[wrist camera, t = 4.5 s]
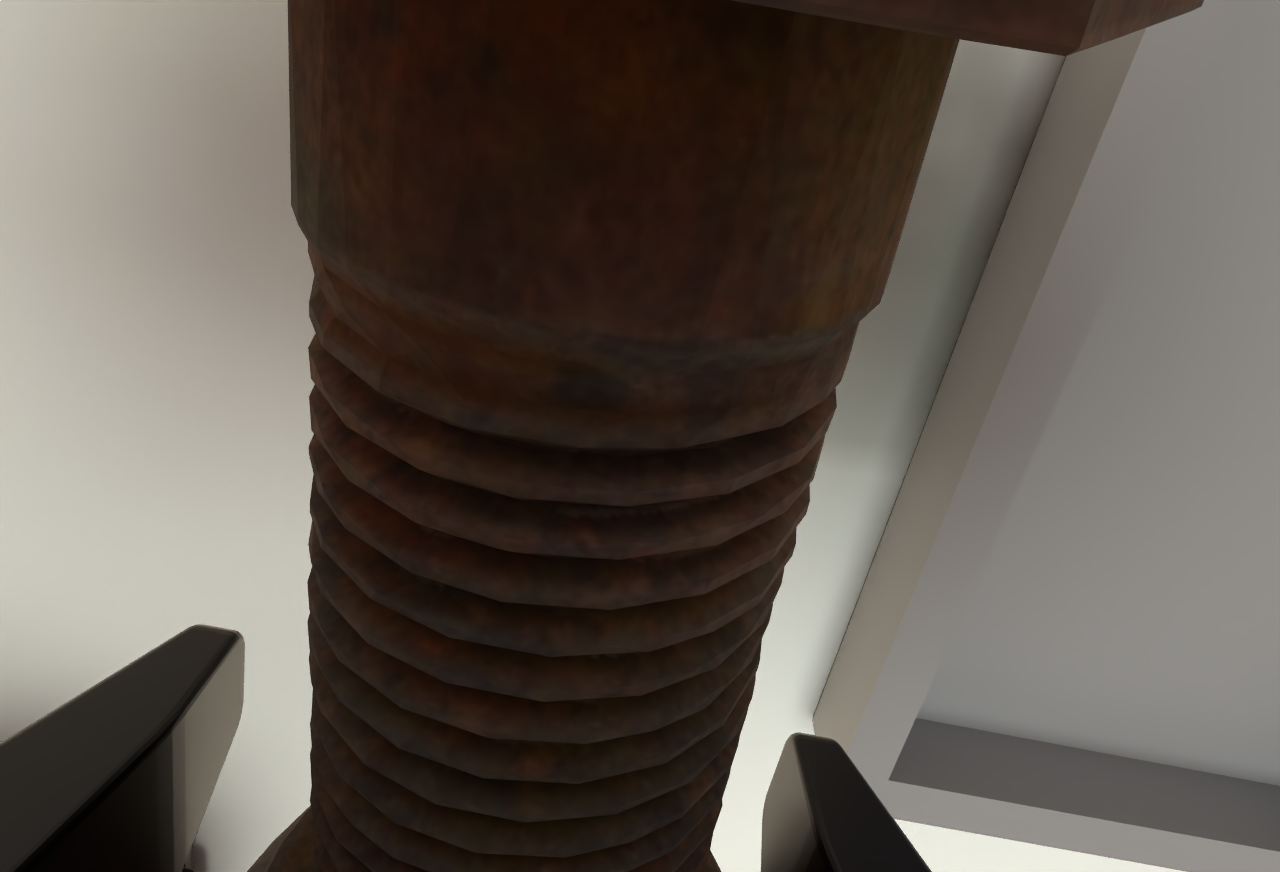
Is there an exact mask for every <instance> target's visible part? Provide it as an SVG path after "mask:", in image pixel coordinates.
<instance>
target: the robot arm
mask: <svg viewBox="0 0 1280 872" xmlns="http://www.w3.org/2000/svg"><path fill="white" fill-rule="evenodd" d="M244 662H245V643H244V639H243V636H242V635H241V634H240V633H239V632H238V631H235V630H230V629H224V628H219V627H213V626H207V625H195V626H191V627H189V628H187V629H186V630H184V631H182V632H181V633H179V634H177V635H176V636H174V637H173V638H171V639H169V640H168V641H166V642H164V643H163V644H161V645H160V646H158V647H156V648H155V649H153V650H151V651H150V652H148V653H147V654H145V655H143V656H142V657H140V658H138V659H137V660H135V661H134V662H132V663H130V664H129V665H127V666H125V667H124V668H122V669H121V670H119V671H117V672H116V673H114V674H112V675H111V676H109V677H107V678H106V679H104V680H103V681H101V682H99V683H98V684H96V685H94V686H93V687H91V688H90V689H88V690H86V691H85V692H83V693H81V694H80V695H78V696H77V697H75V698H73V699H72V700H70V701H68V702H67V703H65V704H64V705H62V706H60V707H59V708H57V709H55V710H54V711H52V712H51V713H49V714H47V715H46V716H44V717H42V718H41V719H39V720H38V721H36V722H34V723H33V724H31V725H29V726H28V727H26V728H25V729H23V730H21V731H20V732H18V733H16V734H15V735H13V736H12V737H10V738H8V739H7V740H5V741H3V742H2V743H0V872H197V871H196V869H192V844H193V841H194V839H195V836H196V834H197V831H198V828H199V826H200V823H201V821H202V818H203V815H204V813H205V810H206V808H207V805H208V803H209V800H210V797H211V795H212V792H213V790H214V787H215V785H216V782H217V779H218V777H219V774H220V772H221V769H222V767H223V764H224V761H225V759H226V756H227V754H228V751H229V749H230V746H231V743H232V741H233V738H234V736H235V733H236V730H237V728H238V724H239V721H240V717H241V713H242V707H243V696H244ZM761 872H931V870H930V869H929V867H928V866H927V865H926V863H925V862H924V860H923V859H922V858H921V856H920V855H919V853H918V852H917V851H916V849H915V848H914V847H913V845H912V844H911V842H910V841H909V840H908V838H907V837H906V835H905V834H904V833H903V831H902V830H901V828H900V827H899V826H898V824H897V823H896V822H895V820H894V819H893V817H892V816H891V815H890V813H889V812H888V810H887V809H886V808H885V806H884V805H883V803H882V802H881V801H880V799H879V798H878V797H877V795H876V794H875V792H874V791H873V790H872V788H871V787H870V785H869V784H868V783H867V781H866V780H865V778H864V777H863V776H862V774H861V773H860V772H859V770H858V769H857V767H856V766H855V765H854V763H853V762H852V760H851V759H850V758H849V756H848V755H847V754H846V752H845V751H844V749H843V748H842V747H841V745H840V744H839V743H838V742H836V741H835V740H833V739H831V738H827V737H821V736H816V735H810V734H805V733H794V734H792V735H790V737H789V738H788V740H787V741H786V743H785V745H784V748H783V751H782V754H781V756H780V759H779V762H778V765H777V767H776V770H775V773H774V776H773V778H772V781H771V784H770V787H769V789H768V792H767V795H766V799H765V803H764V809H763V818H762V850H761Z"/></svg>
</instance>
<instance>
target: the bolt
mask: <svg viewBox="0 0 1280 872" xmlns="http://www.w3.org/2000/svg"><path fill="white" fill-rule="evenodd" d="M1203 1H1204V0H288V42H289V97H290V153H291V205H292V208H293V211H294V214H295V217H296V219H297V222H298V225H299V227H300V228H301V230H302V232H303V233H304V235H305V237H306V238H307V240H308V253H309V256H310V260H311V263H312V267H313V270H314V274H315V275H314V280H313V285H312V291H311V296H310V301H309V317H310V319H311V322H312V324H313V326H314V329H315V331H316V334H315V336H314V338H313V340H312V342H311V344H310V345H309V347H308V349H309V361H310V372H311V379H312V380H313V382H314V383H315V385H314V387H313V389H312V392H311V394H310V396H309V401H310V415H311V429H312V431H313V433H314V435H313V438H312V440H311V442H310V445H309V455H310V460H311V464H312V468H313V473H314V475H313V483H312V490H311V498H310V514H311V517H312V526H311V532H310V537H309V543H308V545H309V551H310V558H311V563H312V569H311V573H310V576H309V579H308V595H309V609H310V615H309V618H308V633H309V646H310V655H309V665H310V674H311V683H312V686H313V698H312V716H311V722H310V728H311V741H312V748H311V753H310V760H311V779H312V789H311V797H310V803H311V806H310V807H309V808H307V809H306V810H305V811H304V812H303V813H302V814H301V815H300V816H299V817H298V818H297V819H296V820H295V821H294V822H293V823H292V824H291V825H290V826H289V827H288V828H287V829H286V830H285V831H284V832H282V833H281V834H280V835H279V836H278V837H277V838H276V839H275V840H274V841H273V842H272V844H271V845H270V846H269V847H268V848H267V849H266V850H265V852H264V853H263V854H262V855H261V856H260V857H259V859H258V860H257V861H256V862H255V863H254V864H253V865H252V867H251V868H250V869H249V870H248V871H247V872H721V870H720V868H719V866H718V864H717V862H716V860H715V858H714V856H713V855H712V853H711V851H710V847H711V841H712V836H713V831H714V828H715V825H716V822H717V819H718V817H719V814H720V811H721V808H722V797H723V794H724V791H725V788H726V785H727V781H728V778H729V775H730V769H731V765H732V762H733V759H734V756H735V753H736V750H737V747H738V742H739V736H740V733H741V730H742V727H743V724H744V721H745V718H746V715H747V711H748V706H749V704H750V701H751V699H752V695H753V690H754V685H755V677H756V671H757V669H758V665H759V661H760V652H761V641H762V637H763V635H764V632H765V630H766V628H767V625H768V623H769V620H770V616H771V612H772V607H773V601H774V599H775V597H776V594H777V592H778V590H779V588H780V585H781V583H782V578H783V572H784V566H785V565H786V563H787V562H788V561H789V559H790V558H791V556H792V554H793V551H794V547H795V544H796V527H797V525H798V524H799V523H800V521H801V520H802V519H803V517H804V516H805V515H806V512H807V509H808V505H809V502H810V486H809V484H810V482H811V481H812V480H813V478H814V475H815V471H816V468H817V464H818V461H819V457H820V454H821V450H822V446H823V442H824V438H825V433H826V432H827V429H828V427H829V424H830V422H831V419H832V417H833V414H834V412H835V409H836V407H837V406H836V389H835V387H836V386H837V385H838V384H839V383H840V381H841V379H842V377H843V374H844V371H845V368H846V365H847V362H848V359H849V355H850V352H851V348H852V345H853V341H854V338H855V334H856V331H857V327H858V324H859V321H860V320H861V319H863V318H864V317H865V316H866V315H867V314H868V313H869V312H870V311H871V310H873V309H874V308H875V307H876V306H877V305H878V304H879V303H880V301H881V298H882V295H883V292H884V289H885V286H886V283H887V280H888V277H889V273H890V270H891V267H892V263H893V260H894V257H895V253H896V250H897V247H898V243H899V240H900V236H901V233H902V230H903V226H904V223H905V220H906V216H907V213H908V210H909V206H910V203H911V200H912V196H913V193H914V190H915V186H916V183H917V180H918V176H919V173H920V170H921V166H922V163H923V160H924V156H925V153H926V150H927V146H928V143H929V140H930V136H931V133H932V130H933V126H934V123H935V120H936V116H937V113H938V110H939V106H940V103H941V100H942V96H943V93H944V89H945V86H946V83H947V79H948V76H949V73H950V69H951V66H952V63H953V59H954V56H955V53H956V49H957V46H958V43H959V39H962V40H968V41H974V42H981V43H987V44H993V45H1000V46H1006V47H1012V48H1019V49H1025V50H1031V51H1037V52H1044V53H1050V54H1056V55H1063V56H1068V55H1071V54H1074V53H1077V52H1080V51H1082V50H1085V49H1088V48H1091V47H1094V46H1097V45H1100V44H1102V43H1105V42H1108V41H1111V40H1114V39H1117V38H1119V37H1122V36H1125V35H1128V34H1131V33H1133V32H1136V31H1139V30H1142V29H1144V28H1147V27H1150V26H1153V25H1155V24H1158V23H1161V22H1163V21H1166V20H1169V19H1172V18H1174V17H1177V16H1180V15H1183V14H1185V13H1188V12H1191V11H1193V10H1195V9H1197V8H1199V7H1202V4H1203Z"/></svg>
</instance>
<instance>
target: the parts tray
mask: <svg viewBox="0 0 1280 872" xmlns="http://www.w3.org/2000/svg"><path fill="white" fill-rule="evenodd" d="M813 725H814V732H815V735H816V736H821V737H827V738H831V739H833V740H835V741H836V742H838V743H839V744H840V745H841V747H842V748H843V749H844V751H845V752H846V754H847V755H848V756H849V758H850V759H851V760H852V762H853V763H854V765H855V766H856V767H857V769H858V770H859V772H860V773H861V774H862V776H863V777H864V778H865V780H866V781H867V783H868V784H869V785H870V787H871V788H872V790H873V791H874V792H875V794H876V795H877V797H878V798H879V799H880V801H881V802H882V803H883V805H884V806H885V808H886V809H887V810H888V812H889V813H890V815H891V816H892V817H893V819H899V820H904V821H910V822H915V823H921V824H927V825H932V826H938V827H943V828H949V829H954V830H960V831H965V832H971V833H976V834H982V835H987V836H993V837H999V838H1004V839H1010V840H1015V841H1021V842H1026V843H1032V844H1037V845H1043V846H1048V847H1054V848H1060V849H1065V850H1071V851H1076V852H1082V853H1087V854H1093V855H1098V856H1104V857H1109V858H1115V859H1120V860H1126V861H1132V862H1137V863H1143V864H1148V865H1154V866H1159V867H1165V868H1170V869H1176V870H1181V871H1187V872H1280V0H1204V1H1203V4H1202V7H1199V8H1197V9H1195V10H1193V11H1191V12H1188V13H1185V14H1183V15H1180V16H1177V17H1174V18H1172V19H1169V20H1166V21H1163V22H1161V23H1158V24H1155V25H1153V26H1150V27H1147V28H1144V29H1142V30H1139V31H1136V32H1133V33H1131V34H1128V35H1125V36H1122V37H1119V38H1117V39H1114V40H1111V41H1108V42H1105V43H1102V44H1100V45H1097V46H1094V47H1091V48H1088V49H1085V50H1082V51H1080V52H1077V53H1074V54H1071V55H1068V56H1066V58H1065V60H1064V63H1063V66H1062V68H1061V71H1060V74H1059V76H1058V79H1057V81H1056V84H1055V87H1054V89H1053V92H1052V94H1051V97H1050V100H1049V102H1048V105H1047V108H1046V110H1045V113H1044V115H1043V118H1042V121H1041V123H1040V126H1039V128H1038V131H1037V134H1036V136H1035V139H1034V142H1033V144H1032V147H1031V149H1030V152H1029V155H1028V157H1027V160H1026V162H1025V165H1024V168H1023V170H1022V173H1021V176H1020V178H1019V181H1018V183H1017V186H1016V189H1015V191H1014V194H1013V196H1012V199H1011V202H1010V204H1009V207H1008V209H1007V212H1006V215H1005V217H1004V220H1003V223H1002V225H1001V228H1000V230H999V233H998V236H997V238H996V241H995V243H994V246H993V249H992V251H991V254H990V257H989V259H988V262H987V264H986V267H985V270H984V272H983V275H982V277H981V280H980V283H979V285H978V288H977V291H976V293H975V296H974V298H973V301H972V304H971V306H970V309H969V311H968V314H967V317H966V319H965V322H964V325H963V327H962V330H961V332H960V335H959V338H958V340H957V343H956V345H955V348H954V351H953V353H952V356H951V359H950V361H949V364H948V366H947V369H946V372H945V374H944V377H943V379H942V382H941V385H940V387H939V390H938V393H937V395H936V398H935V400H934V403H933V406H932V408H931V411H930V413H929V416H928V419H927V421H926V424H925V426H924V429H923V432H922V434H921V437H920V440H919V442H918V445H917V447H916V450H915V453H914V455H913V458H912V460H911V463H910V466H909V468H908V471H907V474H906V476H905V479H904V481H903V484H902V487H901V489H900V492H899V494H898V497H897V500H896V502H895V505H894V508H893V510H892V513H891V515H890V518H889V521H888V523H887V526H886V528H885V531H884V534H883V536H882V539H881V542H880V544H879V547H878V549H877V552H876V555H875V557H874V560H873V562H872V565H871V568H870V570H869V573H868V576H867V578H866V581H865V583H864V586H863V589H862V591H861V594H860V596H859V599H858V602H857V604H856V607H855V609H854V612H853V615H852V617H851V620H850V623H849V625H848V628H847V630H846V633H845V636H844V638H843V641H842V643H841V646H840V649H839V651H838V654H837V657H836V659H835V662H834V664H833V667H832V670H831V672H830V675H829V677H828V680H827V683H826V685H825V688H824V691H823V693H822V696H821V698H820V701H819V704H818V706H817V709H816V711H815V714H814V717H813Z"/></svg>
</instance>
